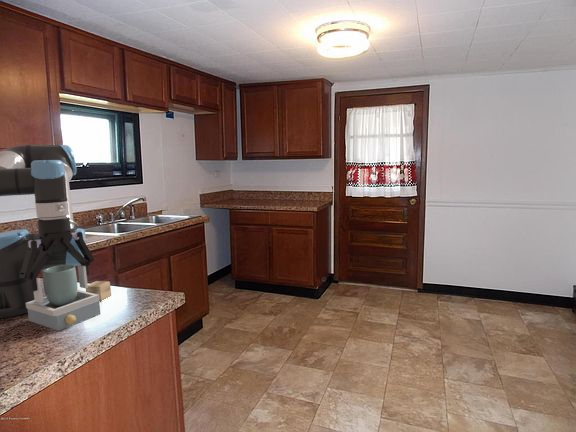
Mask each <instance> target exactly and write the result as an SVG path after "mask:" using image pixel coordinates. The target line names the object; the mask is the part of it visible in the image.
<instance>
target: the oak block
mask: <svg viewBox="0 0 576 432" xmlns="http://www.w3.org/2000/svg"><path fill="white" fill-rule="evenodd" d="M111 289H112V287H111V281H108V280H107V281H105V280H104V281H101V280H96V281H94V282H91V283H89V284H88V288H85V292H89V293H93V294H98V295H99V299H100V300H98V301H102V300H104V299H106V298H107V299H109V298H110V296H111V297H112V292H111V291H112V290H111ZM108 297H109V298H108ZM107 299H106V300H107ZM104 301H105V300H104ZM102 302H103V301H102Z"/></svg>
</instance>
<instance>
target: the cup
mask: <svg viewBox="0 0 576 432" xmlns="http://www.w3.org/2000/svg"><path fill="white" fill-rule="evenodd" d="M76 268H77V267H76V266H73V265H60V266H54V267H50V268H47V269H45V270H43V271H41V273H42V274H41V275H42V283H43V290H44V294H45V297H46V298H47V300H48V302H49V303H50V304H52V305H55V306H62V305H66V304H69V303H71V302H73V301H74V300H75V298H76V296H77V290H78V277H77V270H76Z"/></svg>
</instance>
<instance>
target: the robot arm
mask: <svg viewBox="0 0 576 432" xmlns="http://www.w3.org/2000/svg"><path fill="white" fill-rule="evenodd" d="M76 174H77V165H76V159H75V155H74V152H73V149H72V148H71V146H70V145H67V144H58V143H57V144H21V145H20V144H19V145H13V146H9V147H6V148H4V149H1V150H0V197H10V196H11V197H13V196H27V195H34V201H35V203H34V204H35V205H34V206H35V212H36V217H37V219H38V220H37V229H38V231H37V232H35V233H30V232H29V230H28V229H25V228H22V229H14V230H8V231H4V232H0V319H5V318H12V317H17V316H20V315H24V314H28V309H27V308H26V303H27V302H30V301H33V300H35V302H39V303H42V302H43V297H44V295H43V289H42V279H41V278H40V277H38V276H39V274H41V272H42V271H43V270H45V269H47V268H50V267H54V266H60V265H73V266H75V267H76V266H77V273H78V281H79V283H78V285H79V288H82V289H86V288H88V285H89V284H88V277H89V275H90V271H89V266H90V265H91V263H92V262H94V261H95V258H94V256H93V254H92V253H91V250H90V249H89V247H88V245H87V244H86V231H85V229H84V228H80V226H79V224H78V223H77V222H76V221H74V214H73V205H72V197H71V189H70V181H71V180H72V178H73V176H76Z"/></svg>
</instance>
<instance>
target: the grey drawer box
mask: <svg viewBox="0 0 576 432" xmlns="http://www.w3.org/2000/svg"><path fill="white" fill-rule="evenodd" d="M98 300H100V299H99V295H98V294H93V293H89V292H86V290H85V291H84V290H81V289H77V296H76V298H75V300H74V301H73V302H71V303H69V304H66V305H62V306H55V305H52V304H50V303H49V302H48V300H47V298H46V296H43V302H42V303H39V302H35V300H33V301H30V302H27V303H26V308H27V309H28V313H27V316H28V321H29V322H31V323H34V324H37V325H40V326H43V327H46V328H50V329H52V330H56V331H62V330H64V329H67V328H69V327H72V326H74V325H77V324H79V323H81V321H82V322H84V321H86V319H87V320H89V319H92V318H94V317H96V315H97V316H99V315H101V307H100V306H101V305H100V302H99V301H98ZM98 314H99V315H98ZM93 316H94V317H93ZM91 317H92V318H91Z"/></svg>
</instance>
